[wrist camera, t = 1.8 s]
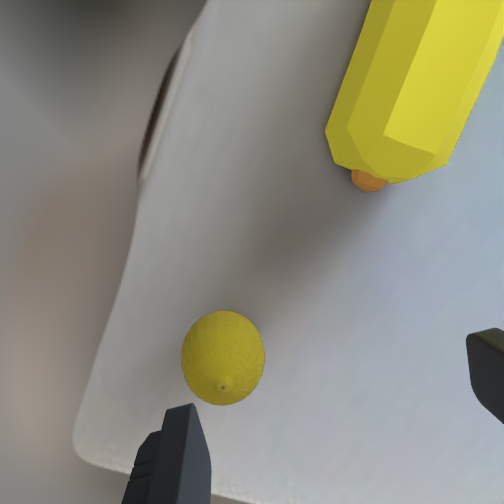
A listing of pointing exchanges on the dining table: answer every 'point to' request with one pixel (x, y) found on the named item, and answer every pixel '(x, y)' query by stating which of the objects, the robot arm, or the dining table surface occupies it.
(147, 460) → the robot arm
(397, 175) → the yellow faceted capsule
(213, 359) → the lemon
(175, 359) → the dining table surface
